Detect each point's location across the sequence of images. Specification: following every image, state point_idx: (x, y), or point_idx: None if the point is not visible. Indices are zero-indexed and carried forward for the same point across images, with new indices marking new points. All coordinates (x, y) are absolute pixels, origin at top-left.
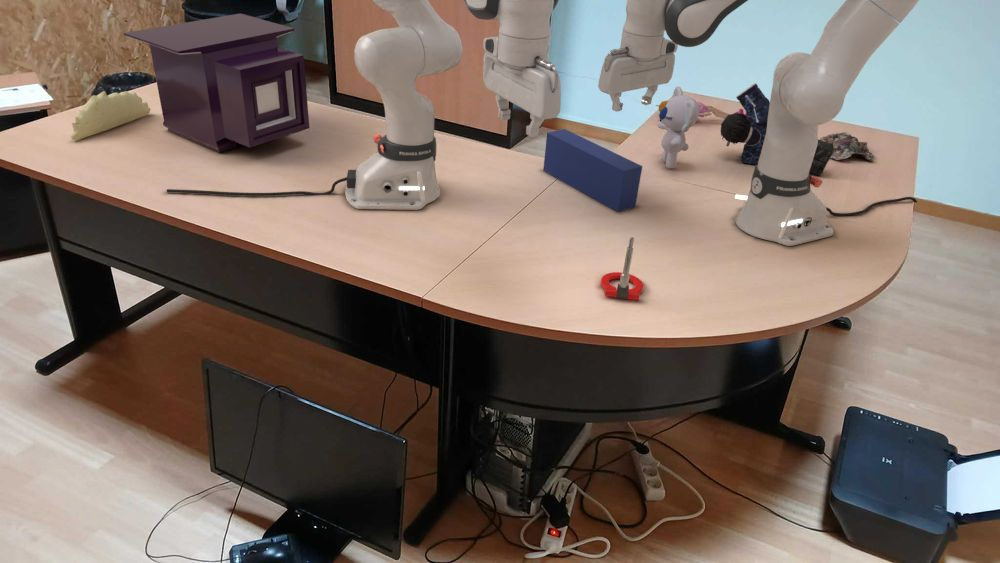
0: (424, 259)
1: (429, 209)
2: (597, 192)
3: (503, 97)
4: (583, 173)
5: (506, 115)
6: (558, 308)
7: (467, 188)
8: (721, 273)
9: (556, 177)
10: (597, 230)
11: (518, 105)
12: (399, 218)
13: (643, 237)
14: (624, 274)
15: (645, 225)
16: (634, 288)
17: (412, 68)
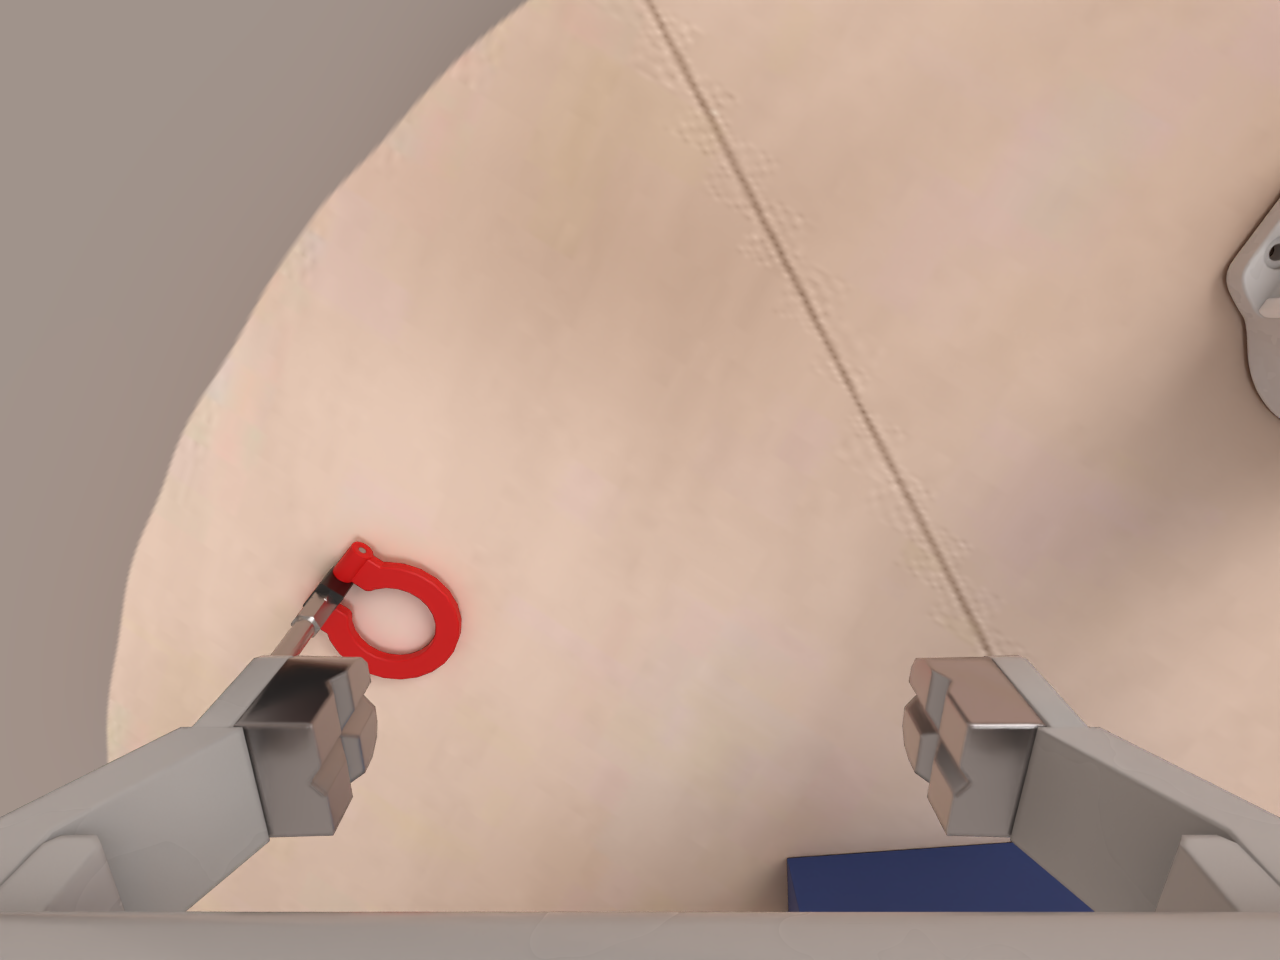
0: (861, 83)
1: (1201, 315)
2: (896, 875)
3: (1003, 917)
4: (994, 907)
5: (937, 737)
6: (354, 374)
7: (1243, 540)
8: (367, 875)
9: None
10: (722, 748)
11: (330, 929)
12: (1222, 151)
13: (621, 829)
14: (297, 621)
15: (678, 873)
16: (345, 634)
17: None
